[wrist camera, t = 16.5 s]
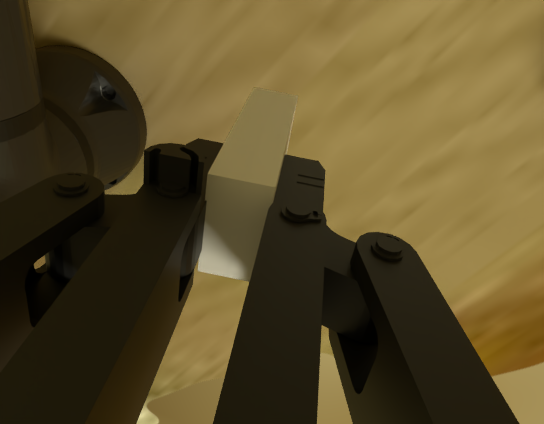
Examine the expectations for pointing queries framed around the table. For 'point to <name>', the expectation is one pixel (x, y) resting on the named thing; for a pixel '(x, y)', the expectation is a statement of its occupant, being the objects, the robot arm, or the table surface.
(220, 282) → the table surface
